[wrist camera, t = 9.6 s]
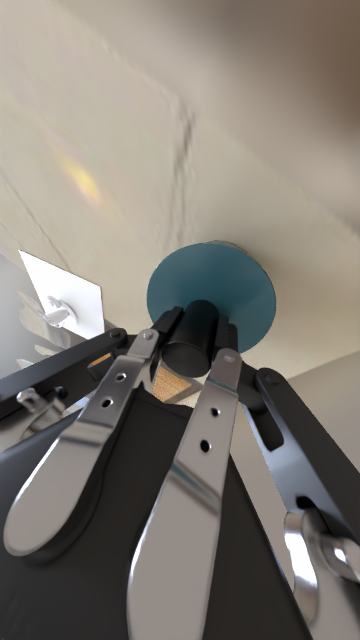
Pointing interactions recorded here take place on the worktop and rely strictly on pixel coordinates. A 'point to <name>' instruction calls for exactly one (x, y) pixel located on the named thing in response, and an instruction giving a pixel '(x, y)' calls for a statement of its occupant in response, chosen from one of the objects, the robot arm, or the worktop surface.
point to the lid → (209, 302)
